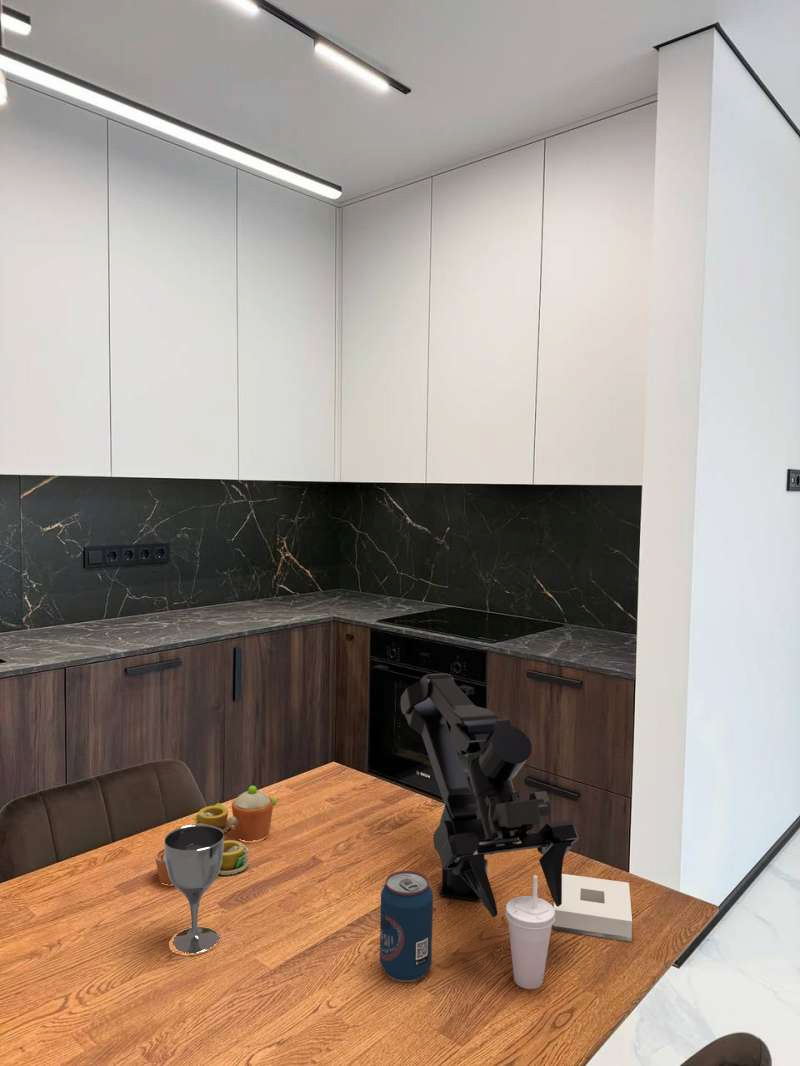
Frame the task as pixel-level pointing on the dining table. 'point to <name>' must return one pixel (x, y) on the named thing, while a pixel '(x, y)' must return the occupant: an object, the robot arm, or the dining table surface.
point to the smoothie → (529, 937)
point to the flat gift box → (594, 908)
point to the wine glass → (194, 876)
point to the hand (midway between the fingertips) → (527, 910)
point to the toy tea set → (249, 825)
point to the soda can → (406, 926)
